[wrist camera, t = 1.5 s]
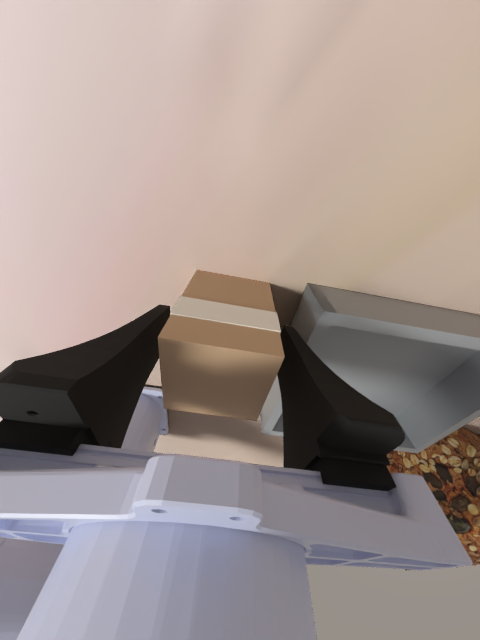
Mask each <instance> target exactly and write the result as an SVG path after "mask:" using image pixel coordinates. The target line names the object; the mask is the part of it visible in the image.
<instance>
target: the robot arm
mask: <svg viewBox="0 0 480 640" xmlns="http://www.w3.org/2000/svg"><path fill="white" fill-rule="evenodd" d="M169 317H170V306H165V305H158V306H157V307H155V308H153V309H152V310H150V311H149V312H147V313H145V314H144V315H142V316H140V317H139V318H137V319H135V320H134V321H132V322H130V323H128V324H126V325H124V326H122V327H120V328H119V329H116V330H114V331H112V332H110V333H108V334H105V335H103V336H101V337H98V338H96V339H93V340H90V341H87V342H85V343H82V344H79V345H76V346H73V347H70V348H66V349H63V350H59V351H56V352H52V353H48V354H44V355H40V356H35V357H31V358H27V359H22V360H18V361H15V362H13V363H12V364H11V365H10V366H8V367H7V368H6V369H4V370H3V371H2V372H1V373H0V416H1V417H2V418H3V420H2V421H1V422H0V640H317V635H316V628H315V621H314V615H313V608H312V601H311V595H310V587H309V582H308V574H307V567H306V564H311V565H333V566H356V567H357V566H358V567H377V568H394V569H408V570H432V569H443V568H453V567H464V566H472V564H473V562H472V561H471V559H470V557H469V555H468V554H467V552H466V550H465V548H464V547H463V545H462V543H461V542H460V540H459V538H458V536H457V535H456V533H455V531H454V530H453V528H452V526H451V524H450V523H449V521H448V519H447V518H446V516H445V514H444V512H443V511H442V509H441V507H440V506H439V504H438V502H437V500H436V499H435V497H434V495H433V494H432V492H431V490H430V488H429V487H428V485H427V483H426V482H425V480H424V478H423V477H422V476H420V475H414V474H406V473H392V474H390V472H389V470H388V468H387V466H389V465H390V462H389V460H388V458H387V456H386V455H387V454H388V453H390V452H391V451H393V450H394V449H396V448H397V447H399V446H400V445H401V444H402V443H403V441H404V440H405V433H404V431H403V429H402V428H401V426H400V424H399V423H398V421H397V420H396V418H395V416H394V415H393V414H392V413H390V412H389V411H387V410H386V409H384V408H382V407H381V406H379V405H377V404H376V403H374V402H372V401H371V400H369V399H368V398H367V397H365V396H364V395H362V394H361V393H359V392H358V391H356V390H355V389H354V388H352V387H351V386H350V385H349V384H347V383H346V382H345V381H344V380H342V379H341V378H340V377H339V376H337V375H336V374H335V373H334V372H333V371H332V370H331V369H330V368H329V367H328V366H327V365H325V364H324V363H323V362H322V360H321V359H320V358H319V357H318V356H317V355H316V354H315V353H314V352H313V351H312V349H311V348H310V347H309V346H308V345H307V344H306V342H305V341H304V340H303V339H302V337H301V336H300V335H299V334H298V332H297V331H296V330H295V329H294V328H293V327H290V326H283V329H282V331H281V334H280V336H281V341H282V346H283V351H284V356H285V358H284V360H283V362H282V364H281V367H280V369H279V371H278V373H277V376H278V381H279V387H280V393H281V400H282V414H283V441H284V467H275V466H266V465H258V464H249V463H244V462H240V461H232V460H224V459H215V458H207V457H198V456H189V455H181V454H163V453H155V452H153V451H154V449H155V446H156V443H157V440H158V437H159V434H160V435H167V434H168V431H169V429H168V415H167V409H164V406H163V394H162V389H160V388H153V387H145V384H146V381H147V379H148V377H149V375H150V373H151V371H152V370H153V368H154V366H155V364H156V362H157V361H158V359H159V347H158V336H159V334H160V332H161V331H162V329H163V327H164V326H165V324H166V322H167V320H168V319H169Z"/></svg>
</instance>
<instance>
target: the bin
mask: <svg viewBox="0 0 480 640" xmlns="http://www.w3.org/2000/svg"><path fill="white" fill-rule="evenodd" d="M290 327H293V328H294V329H295V330H296V331H297V332H298V334H299V335H300V336H301V337H302V339H303V340H304V341H305V342H306V344H307V345H308V346H309V347H310V348H311V349H312V351H313V352H314V353H315V354H316V355H317V356H318V357H319V358H320V359H321V360H322V362H323V363H324V364H325V365H327V366H328V367H329V368H330V369H331V370H332V371H333V372H334V373H335V374H336V375H337V376H339V377H340V378H341V379H342V380H344V381H345V382H346V383H347V384H349V385H350V386H351V387H352V388H354V389H355V390H356V391H358V392H359V393H361V394H362V395H364V396H365V397H367V398H368V399H369V400H371V401H372V402H374V403H376V404H377V405H379V406H381V407H382V408H384V409H386V410H387V411H389V412H390V413H392V414H393V415H394V416H395V418H396V420H397V421H398V423H399V424H400V426H401V428H402V429H403V431H404V433H405V440H404V441H403V443H402V444H401V445H400V446H399V447H397V448H396V449H394V451H403V452H411V453H419V452H421V451H422V450H424V449H426V448H427V447H429V446H431V445H432V444H434V443H436V442H437V441H439V440H441V439H442V438H444V437H446V436H447V435H449V434H451V433H452V432H454V431H456V430H457V429H459V428H461V427H462V426H464V425H466V424H467V423H469V422H471V421H472V420H474V419H476V418H477V417H479V416H480V315H478V314H472V313H467V312H461V311H456V310H451V309H445V308H440V307H434V306H429V305H423V304H418V303H413V302H407V301H402V300H396V299H391V298H385V297H380V296H375V295H369V294H364V293H358V292H353V291H347V290H342V289H337V288H331V287H326V286H320V285H315V284H309V283H307V285H306V288H305V290H304V293H303V295H302V298H301V300H300V302H299V305H298V307H297V310H296V312H295V315H294V317H293V320H292V322H291V325H290ZM260 417H261V434H266V435H274V436H282V437H283V414H282V400H281V393H280V387H279V381H278V376H276V378H275V380H274V383H273V385H272V387H271V389H270V392H269V394H268V396H267V399H266V401H265V403H264V405H263V408H262V410H261V412H260Z"/></svg>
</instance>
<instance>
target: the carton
mask: <svg viewBox="0 0 480 640" xmlns="http://www.w3.org/2000/svg"><path fill="white" fill-rule="evenodd" d="M280 333H281V329H280V324H279V320H278V315H277V312H275V307H274V302H273V297H272V292H271V287H270V283H267V282H261V281H256V280H250V279H245V278H239V277H234V276H228V275H223V274H217V273H212V272H206V271H201V270H197V271H196V272H195V274H194V276H193V277H192V279H191V281H190V283H189V284H188V286H187V288H186V289H185V291H184V293H183V295H182V296H180V297H179V299H178V300H177V302H176V304H175V305H174V307H173V309H172V310H171V312H170V317H169V319H168V320H167V322H166V324H165V326H164V327H163V329H162V331H161V332H160V334H159V336H158V347H159V359H160V371H161V382H162V394H163V406H164V409H170V410H177V411H185V412H193V413H201V414H208V415H216V416H224V417H231V418H239V419H247V420H255V421H257V419H258V417H259V415H260V412H261V410H262V408H263V405H264V403H265V401H266V399H267V396H268V394H269V392H270V389H271V387H272V385H273V383H274V380H275V378H276V376H277V373H278V371H279V369H280V367H281V364H282V362H283V360H284V358H285V356H284V351H283V346H282V341H281V336H280Z"/></svg>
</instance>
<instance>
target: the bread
mask: <svg viewBox="0 0 480 640" xmlns="http://www.w3.org/2000/svg"><path fill="white" fill-rule="evenodd" d="M386 456H387V458H388V460H389V462H390V465H389V466H387V468H388V470H389V472H390V474H392V473H406V474H414V475H420V476H422V477H423V478H424V480H425V482H426V483H427V485H428V487H429V488H430V490H431V492H432V494H433V495H434V497H435V499H436V500H437V502H438V504H439V506H440V507H441V509H442V511H443V512H444V514H445V516H446V518H447V519H448V521H449V523H450V524H451V526H452V528H453V530H454V531H455V533H456V535H457V536H458V538H459V540H460V542H461V543H462V545H463V547H464V548H465V550H466V552H467V554H468V555H469V557H470V559H471V561H472V562H473V564H472V565H474V566H475V565H477V564H480V436H478V435H475V434H474V433H472V432H471V431H469V430H468V429H465V428H462V427H461V428H459V429H457V430H456V431H454V432H452V433H451V434H449V435H447V436H446V437H444V438H442V439H441V440H439V441H437V442H436V443H434V444H432V445H431V446H429V447H427V448H426V449H424V450H422V451H421V452H419V453H411V452H403V451H394V450H393V451H391V452H390V453H388V454H387V455H386ZM457 568H458V567H457ZM405 570H408V569H405Z"/></svg>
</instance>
